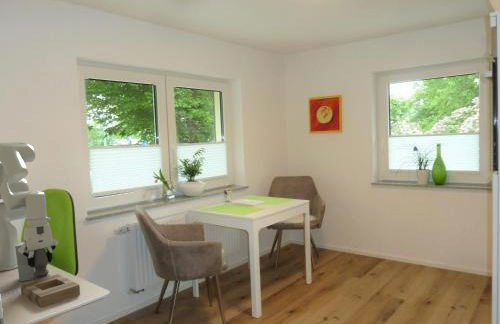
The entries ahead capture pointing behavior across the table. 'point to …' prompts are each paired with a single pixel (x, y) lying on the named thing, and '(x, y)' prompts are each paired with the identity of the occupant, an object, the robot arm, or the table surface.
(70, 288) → the holder board
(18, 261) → the skincare box
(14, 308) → the table surface
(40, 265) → the candle holder
